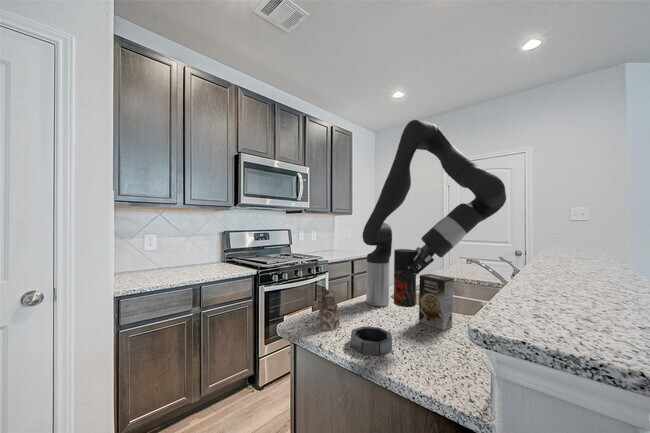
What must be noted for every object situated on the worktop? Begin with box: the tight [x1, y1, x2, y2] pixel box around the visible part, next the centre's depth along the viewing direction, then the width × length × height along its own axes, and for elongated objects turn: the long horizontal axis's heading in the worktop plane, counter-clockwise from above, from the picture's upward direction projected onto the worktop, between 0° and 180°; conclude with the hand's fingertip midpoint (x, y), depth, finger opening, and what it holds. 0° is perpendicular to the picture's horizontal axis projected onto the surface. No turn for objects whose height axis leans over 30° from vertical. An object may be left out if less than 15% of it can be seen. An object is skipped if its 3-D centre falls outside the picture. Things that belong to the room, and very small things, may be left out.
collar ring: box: [350, 326, 393, 357], centre depth 78 cm, size 11×11×3 cm
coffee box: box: [418, 273, 455, 331], centre depth 94 cm, size 9×6×16 cm
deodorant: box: [393, 248, 417, 308], centre depth 79 cm, size 6×6×15 cm
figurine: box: [316, 287, 340, 332], centre depth 91 cm, size 7×7×12 cm
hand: (398, 277), depth 79 cm, fingers closed on deodorant, 6 cm apart
